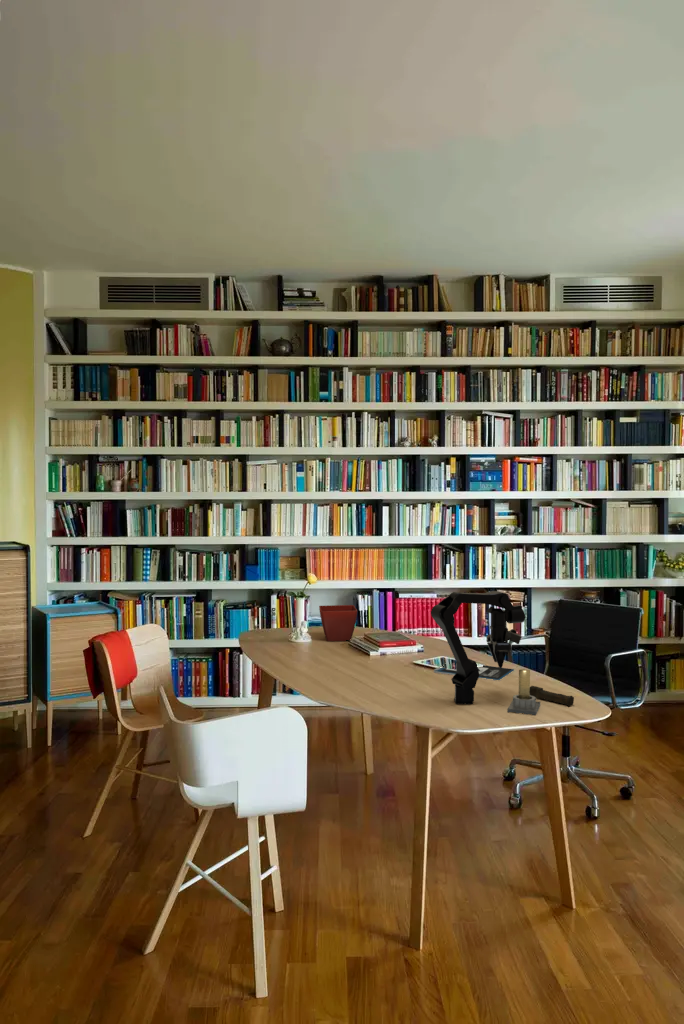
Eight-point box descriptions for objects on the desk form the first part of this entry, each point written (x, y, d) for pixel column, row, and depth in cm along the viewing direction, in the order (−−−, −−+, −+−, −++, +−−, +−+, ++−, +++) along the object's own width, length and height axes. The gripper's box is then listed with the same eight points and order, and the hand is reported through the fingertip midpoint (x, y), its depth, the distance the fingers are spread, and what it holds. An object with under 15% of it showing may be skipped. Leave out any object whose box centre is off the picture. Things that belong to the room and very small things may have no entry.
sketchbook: (499, 682, 323) (499, 677, 323) (432, 674, 338) (432, 669, 338) (514, 671, 342) (514, 667, 342) (450, 664, 357) (450, 659, 356)
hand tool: (574, 705, 287) (575, 693, 287) (568, 707, 285) (568, 695, 285) (532, 695, 302) (532, 683, 302) (526, 697, 299) (526, 685, 299)
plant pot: (320, 643, 402) (320, 610, 401) (318, 636, 421) (319, 605, 420) (357, 642, 403) (357, 610, 403) (353, 635, 422) (353, 605, 422)
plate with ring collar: (507, 712, 278) (507, 700, 277) (513, 702, 291) (513, 691, 290) (535, 715, 274) (536, 703, 274) (540, 705, 287) (540, 693, 287)
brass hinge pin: (519, 706, 280) (520, 671, 280) (517, 703, 284) (517, 668, 284) (530, 706, 280) (531, 671, 280) (528, 703, 284) (528, 668, 284)
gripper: (525, 628, 286) (524, 670, 286) (514, 620, 304) (514, 659, 305) (495, 628, 286) (494, 670, 286) (486, 620, 305) (486, 659, 305)
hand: (498, 664), depth 296 cm, fingers open, 9 cm apart
